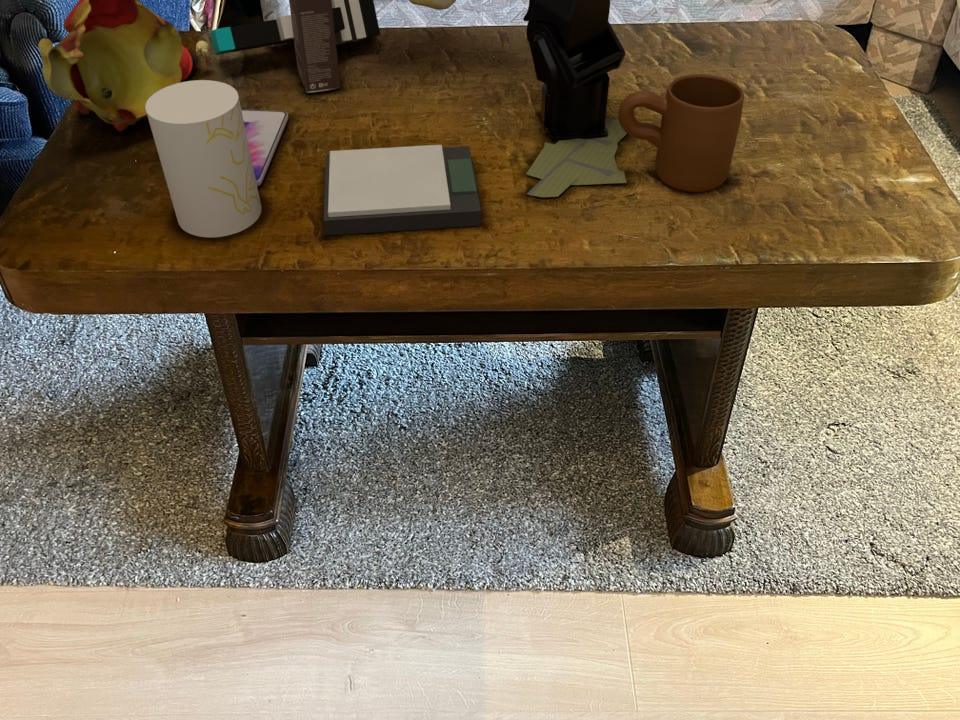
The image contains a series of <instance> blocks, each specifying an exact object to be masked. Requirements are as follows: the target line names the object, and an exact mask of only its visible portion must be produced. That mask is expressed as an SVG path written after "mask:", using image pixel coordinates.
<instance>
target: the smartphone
mask: <svg viewBox="0 0 960 720" xmlns="http://www.w3.org/2000/svg"><path fill="white" fill-rule="evenodd" d="M241 111H242V116H243V120H244V125H245V130H246V135H247V140H248V145H249V149H250V154H251V159H252V164H253V169H254V174H255V179H256V183H257V187H259V186H261V185H262V183H263V181H264V179H265V176H266V174H267V171H268V169H269V167H270V164H271V162H272V159H273V157H274V154H275V152H276V151H277V147H278V144H279V143H280V140H281V137H282V135H283V133H284V130H285V128H286V125H287V123H288V120H289V114H288V112H286V111H284V110H267V109H242V108H241Z"/></svg>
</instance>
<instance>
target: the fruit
mask: <svg viewBox="0 0 960 720" xmlns="http://www.w3.org/2000/svg"><path fill="white" fill-rule="evenodd" d="M408 1H409V2H410V3H411V4H412V5H415V6H421V7H426V8H430V9H432V10H436V11H443V10H448V9H449V8H451V7H452V6H453V5H454V4H455V3H456V1H457V0H408Z"/></svg>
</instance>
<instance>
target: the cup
mask: <svg viewBox="0 0 960 720" xmlns="http://www.w3.org/2000/svg"><path fill="white" fill-rule="evenodd" d="M145 109H146V112H147V119H148V123H149V127H150V130H151V133H152V136H153V137H152V138H153V140H154V144H155V147H156V150H157V154H158V158H159V161H160V165H161V169H162V172H163V175H164V179H165V182H166V185H167V189H168V193H169V195H170V199H171V203H172V206H173V209H174V213H175V216H176V220H177V223H178V225H179V227H180V228H181V229H182V230H183V231H184V232H185V233H188V234H190V235H192V236H196V237H201V238H222V237H228V236H231V235H234V234H237V233H240V232H242V231H244V230H246V229H248V228H250V227H251V226H252V225H254V224H255V223H256V222H257V221H258V219H259V218H260V216H261V214H262V204H261V203H262V202H261V199H260V193H259V188H258V186H257V183H256V179H255V174H254V169H253V164H252V159H251V154H250V149H249V145H248V140H247V135H246V130H245V125H244V120H243V116H242V111H241V109H242V107H241V102H240V96H239V93H238V91H237V89H236V88H234V87H233V86H232V85H230V84H229V83H228V84H227V83H225V82H222V81H218V80H210V79H197V80H195V79H193V80H188V81H186V80H185V81H180V83H177V84H173V85H170V86H168V87H165V88H163V89H161V90H159V91H157V92H156V93H154V94H153V95H152V96H151V97H150V98H149V99H148V100H147V102H146V105H145Z"/></svg>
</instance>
